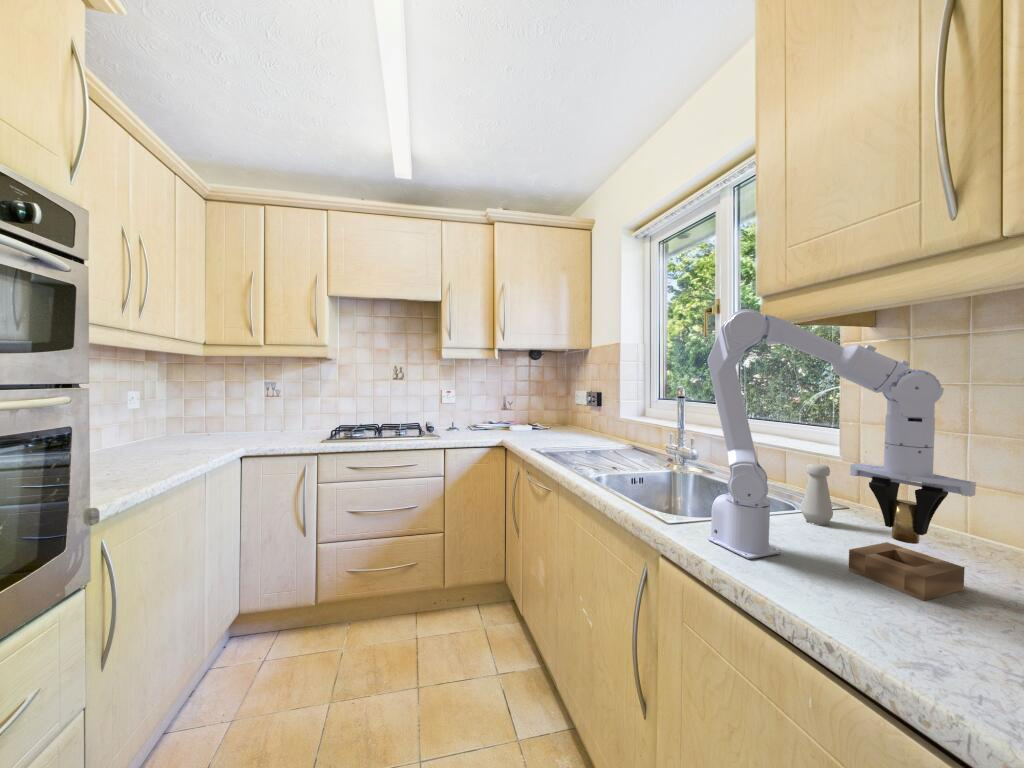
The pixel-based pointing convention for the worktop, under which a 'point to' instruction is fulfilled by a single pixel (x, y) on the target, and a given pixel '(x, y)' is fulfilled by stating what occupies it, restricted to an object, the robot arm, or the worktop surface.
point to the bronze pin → (904, 521)
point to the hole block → (907, 570)
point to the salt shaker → (817, 495)
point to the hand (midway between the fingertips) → (905, 529)
